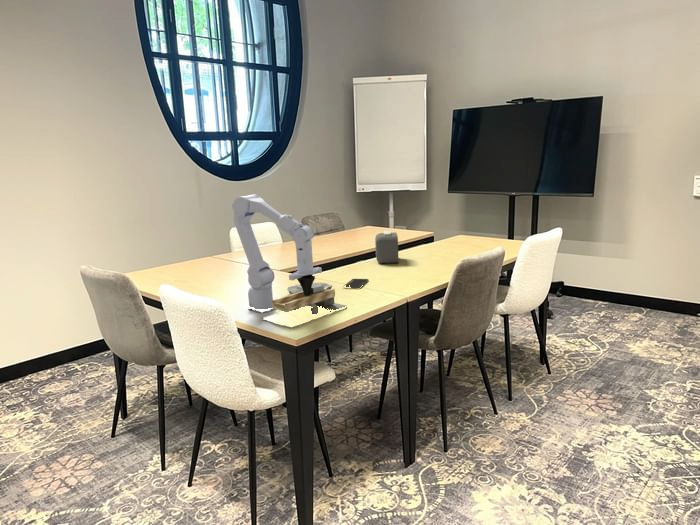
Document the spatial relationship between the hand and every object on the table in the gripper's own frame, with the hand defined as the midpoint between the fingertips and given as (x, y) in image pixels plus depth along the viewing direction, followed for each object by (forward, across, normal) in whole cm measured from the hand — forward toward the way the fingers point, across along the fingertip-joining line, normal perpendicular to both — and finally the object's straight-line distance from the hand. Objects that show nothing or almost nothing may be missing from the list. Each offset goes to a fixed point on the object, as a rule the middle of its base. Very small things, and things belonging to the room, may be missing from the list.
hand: (307, 295), depth 194 cm
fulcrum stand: (+7, -1, 0) cm, 7 cm away
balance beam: (+5, -1, 0) cm, 5 cm away
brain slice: (+7, +18, +20) cm, 28 cm away
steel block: (+1, +4, 0) cm, 4 cm away
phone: (+7, +42, +13) cm, 44 cm away
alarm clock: (+7, +88, +32) cm, 93 cm away
